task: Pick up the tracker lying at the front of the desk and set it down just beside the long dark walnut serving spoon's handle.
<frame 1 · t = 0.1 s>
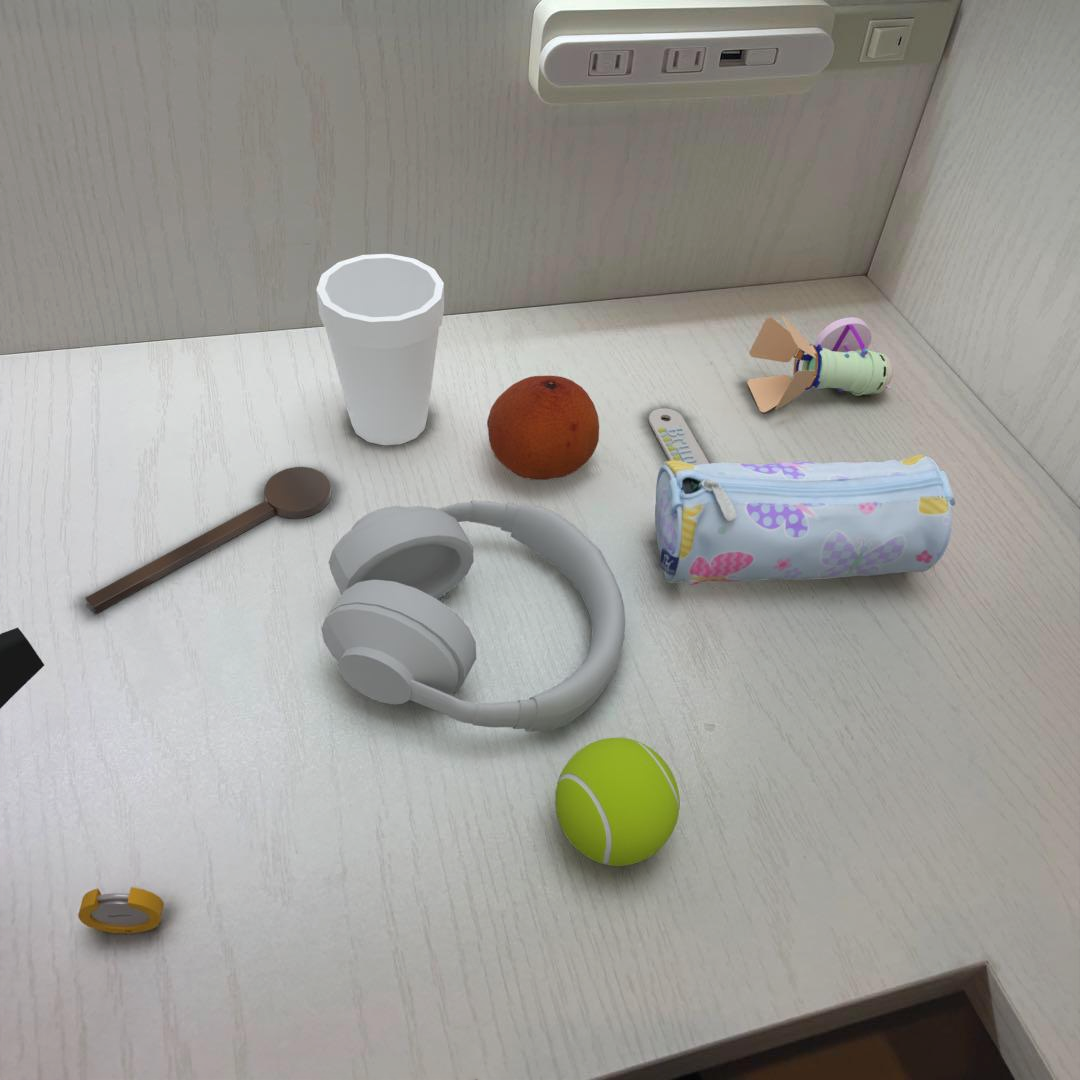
fruit: (538, 463, 80), on the table
spoon: (298, 495, 75), on the table
tracker: (131, 927, 52), on the table
tennis ball: (609, 831, 58), on the table
foam cup: (389, 422, 82), on the table
pencil case: (779, 560, 74), on the table
keychain: (681, 451, 82), on the table
headphones: (477, 637, 67), on the table
spotlight: (815, 393, 89), on the table
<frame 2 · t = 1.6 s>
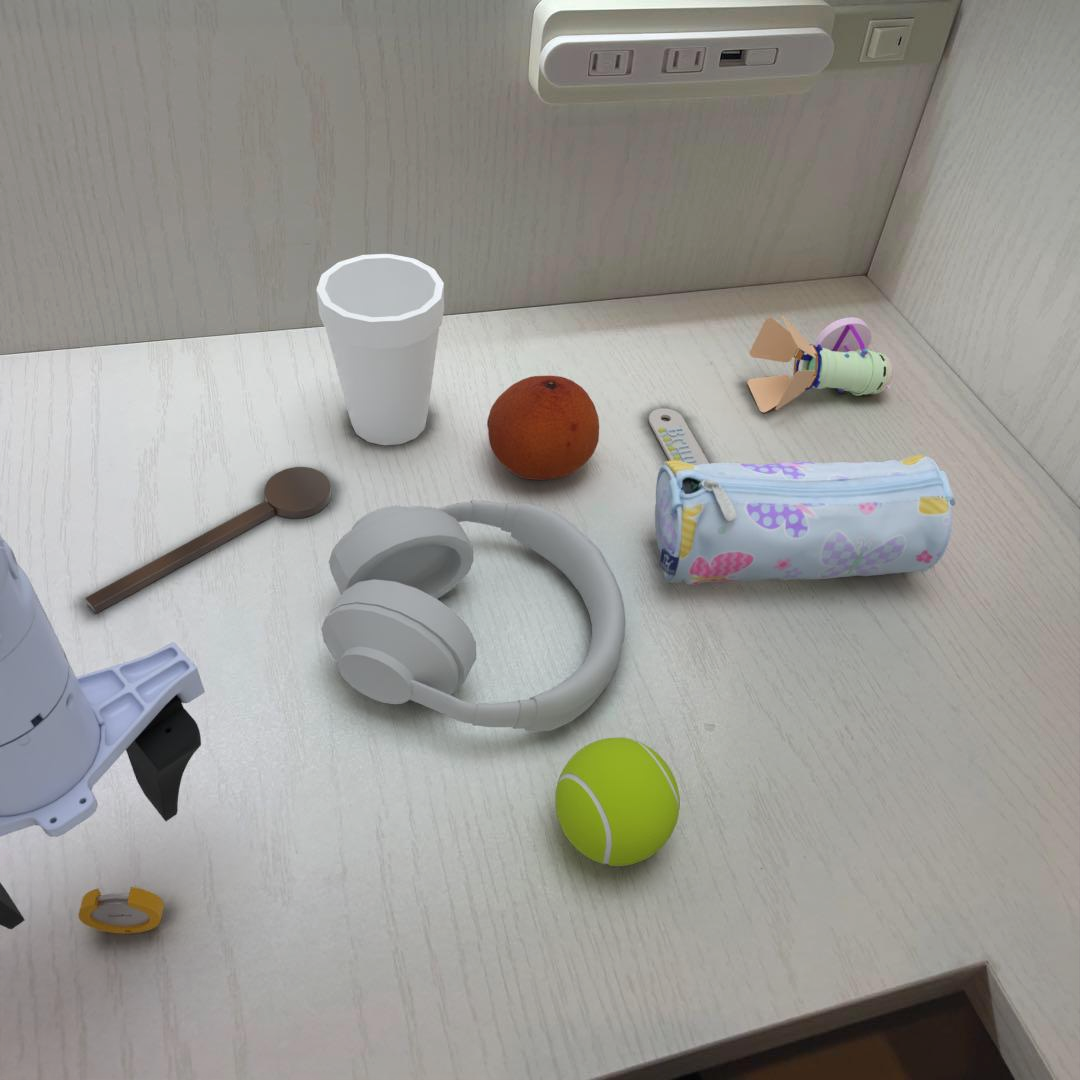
hand: (87, 854, 46), 8 cm above the table, tool pointing down, fingers open, 7 cm apart
nothing on the table moved.
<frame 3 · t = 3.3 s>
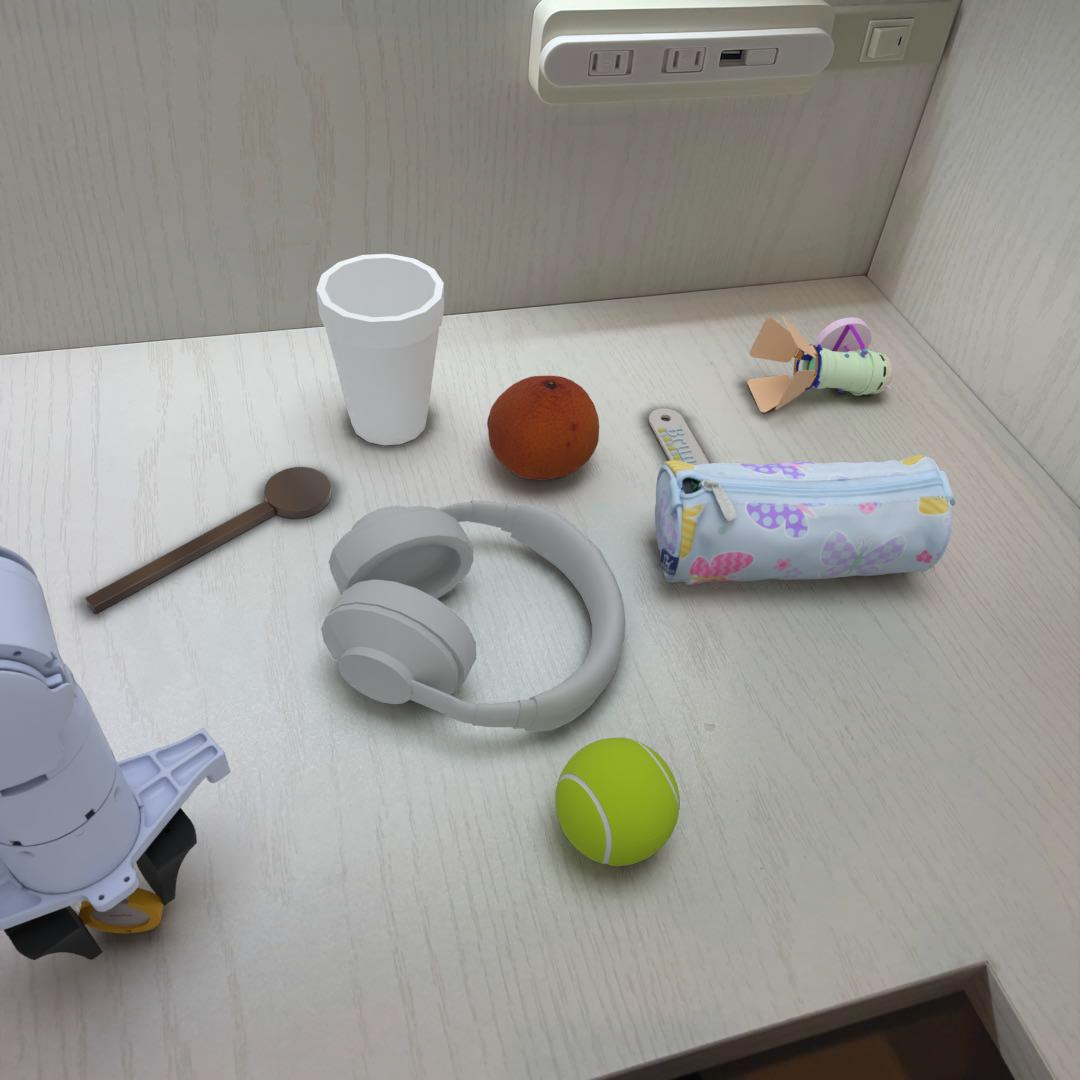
hand: (124, 915, 51), 1 cm above the table, tool pointing down, fingers closed on tracker, 3 cm apart
tracker: (132, 927, 52), on the table, touching gripper
everything else where it was.
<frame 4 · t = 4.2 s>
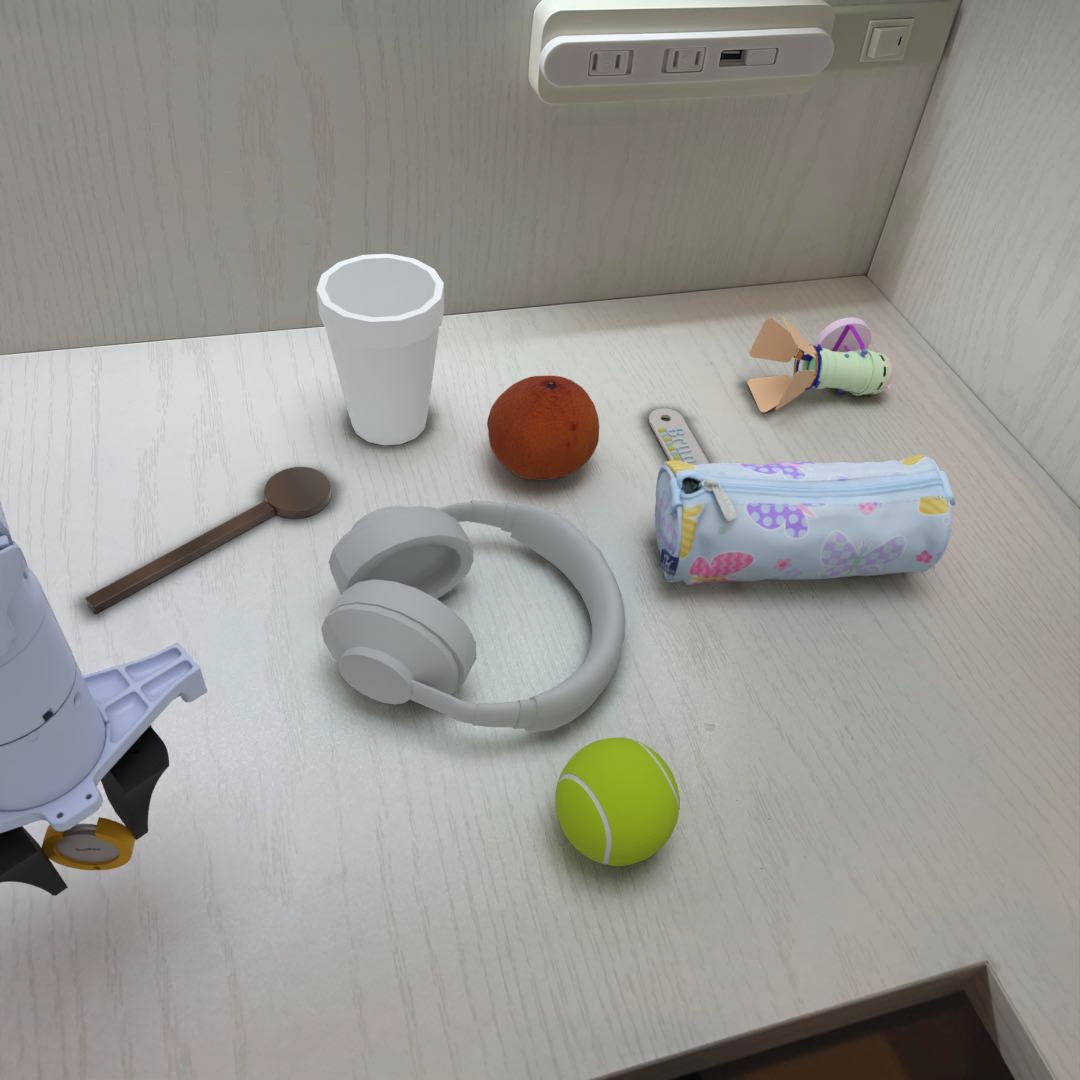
hand: (92, 849, 47), 8 cm above the table, tool pointing down, fingers closed on tracker, 3 cm apart
tracker: (101, 864, 48), point 6 cm above the table, touching gripper
everything else where it was.
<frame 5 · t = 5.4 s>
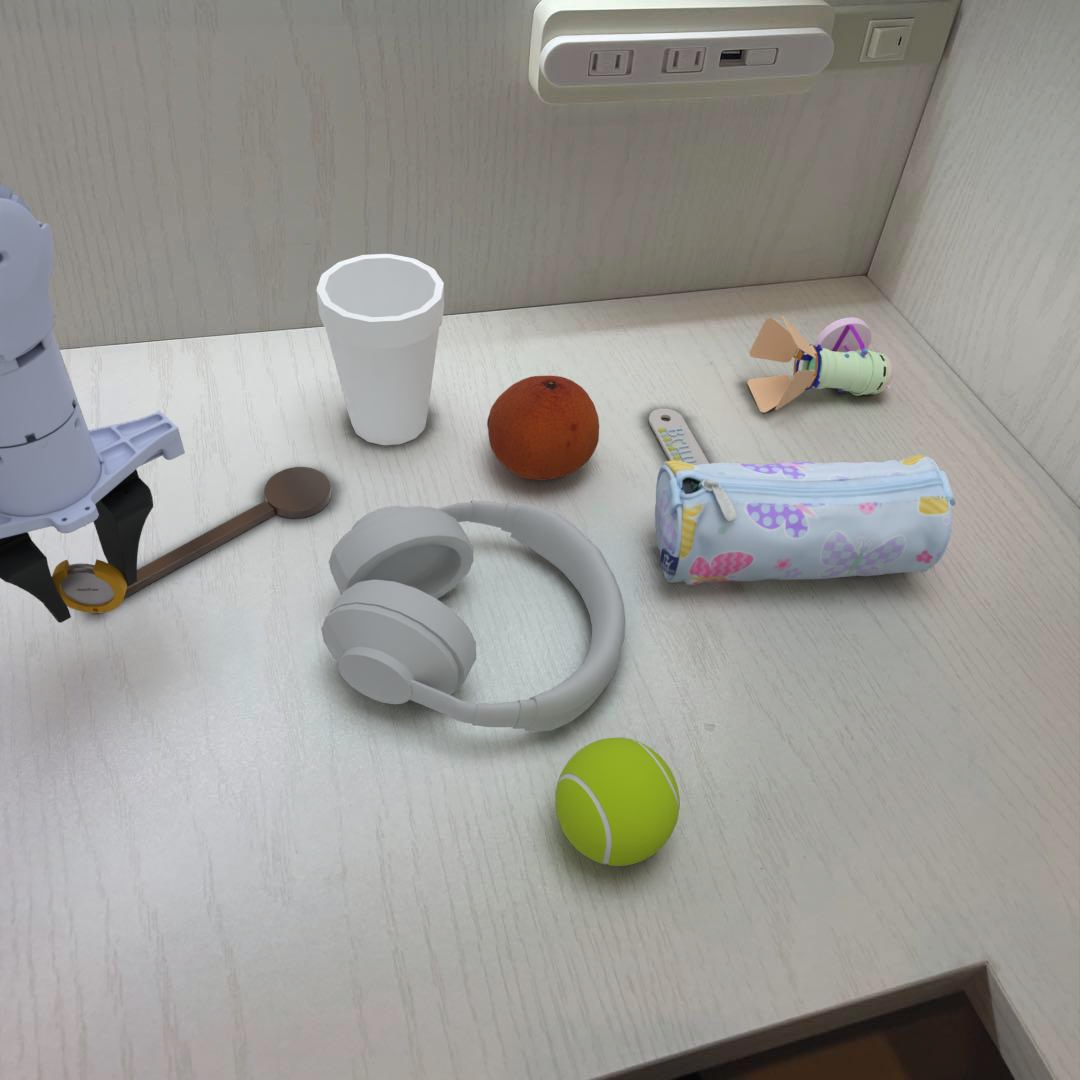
hand: (90, 592, 57), 8 cm above the table, tool pointing down, fingers closed on tracker, 3 cm apart
tracker: (99, 609, 58), point 7 cm above the table, touching gripper
everything else where it was.
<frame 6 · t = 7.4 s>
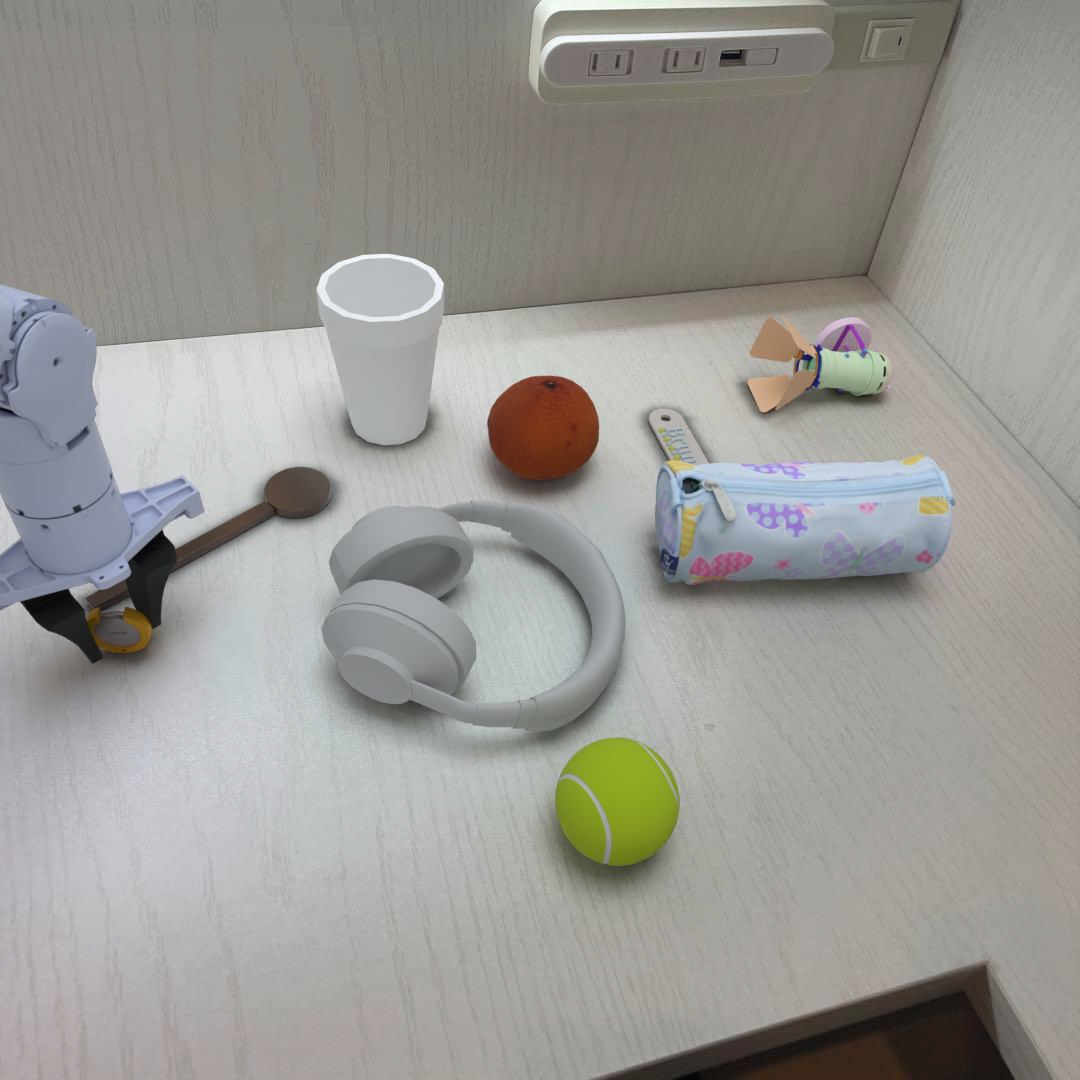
hand: (120, 635, 63), 1 cm above the table, tool pointing down, fingers closed on tracker, 3 cm apart
tracker: (126, 650, 65), on the table, touching gripper
everything else where it was.
when the fingers open (1 cm above the table, at t = 7.7 s): tracker stays where it is, on the table.
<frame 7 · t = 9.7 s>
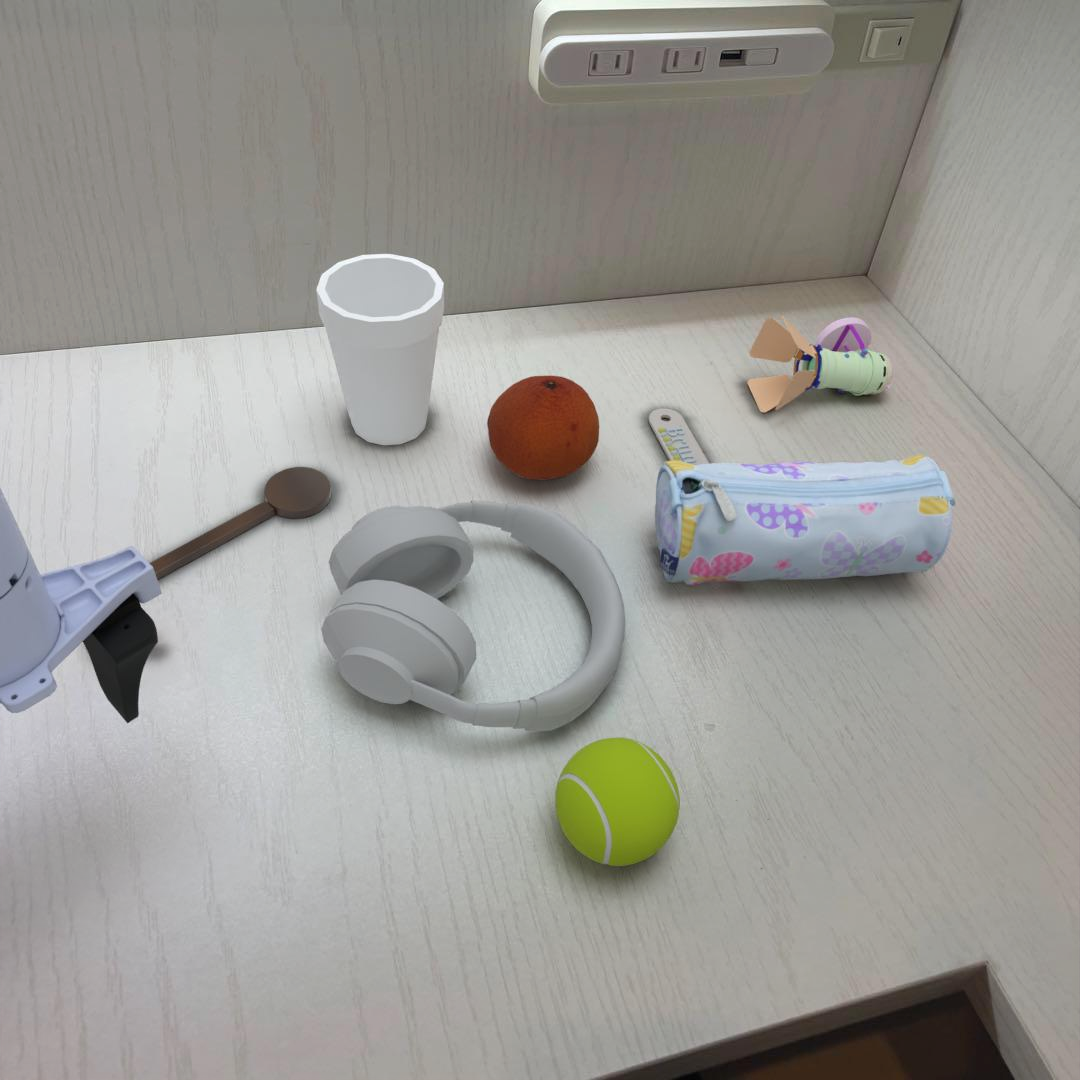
hand: (52, 751, 48), 9 cm above the table, tool pointing down, fingers open, 7 cm apart
tracker: (126, 649, 65), on the table
everything else where it was.
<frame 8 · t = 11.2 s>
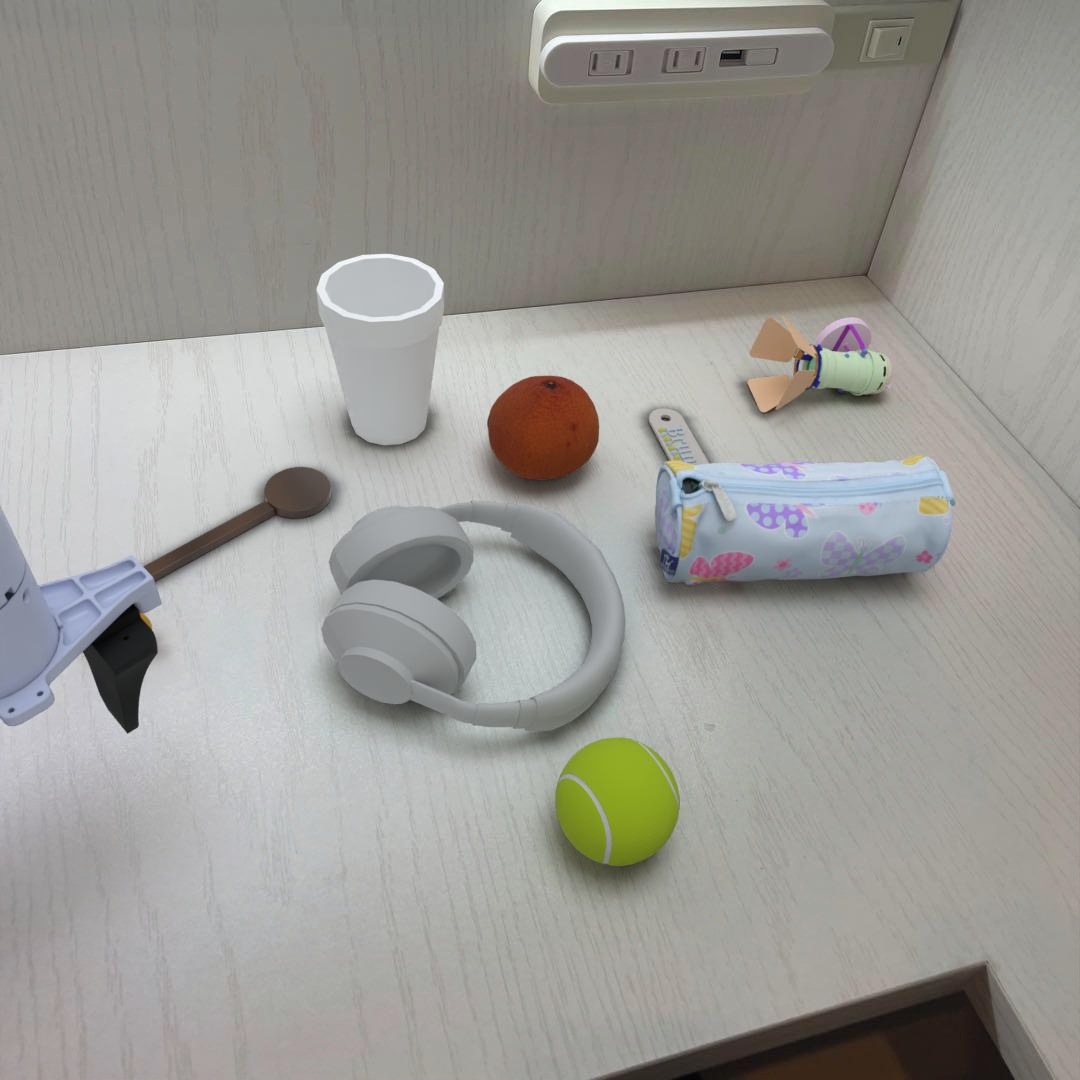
hand: (51, 762, 48), 9 cm above the table, tool pointing down, fingers open, 7 cm apart
nothing on the table moved.
at the end: tracker inside the target area on the table beside the spoon (2.1 cm from its centre), on the table; the gripper is holding nothing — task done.
